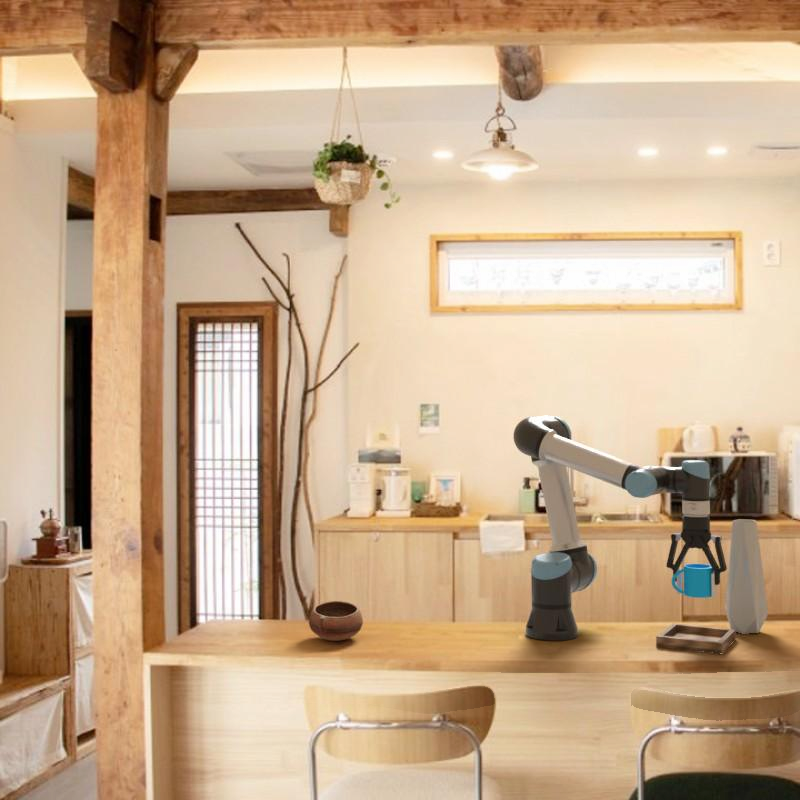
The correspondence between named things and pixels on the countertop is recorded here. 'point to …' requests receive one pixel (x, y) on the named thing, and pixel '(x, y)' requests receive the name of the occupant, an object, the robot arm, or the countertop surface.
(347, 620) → the bowl
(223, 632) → the countertop surface
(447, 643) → the countertop surface
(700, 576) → the mug
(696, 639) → the tray
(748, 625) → the vase
